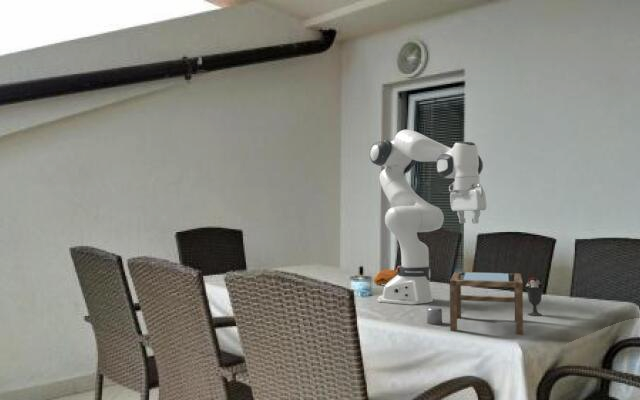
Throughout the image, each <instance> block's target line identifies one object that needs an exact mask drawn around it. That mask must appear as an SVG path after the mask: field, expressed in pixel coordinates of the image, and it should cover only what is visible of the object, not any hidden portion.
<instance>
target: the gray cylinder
mask: <svg viewBox="0 0 640 400" xmlns="http://www.w3.org/2000/svg"><path fill="white" fill-rule="evenodd" d="M426 324H428V325H432V326H433V325H434V326H435V325H436V326H438V325H439V326H440V325H443V308H442V307H438V306H428V307H427V308H426Z"/></svg>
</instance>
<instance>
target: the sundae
mask: <svg viewBox="0 0 640 400" xmlns="http://www.w3.org/2000/svg"><path fill="white" fill-rule="evenodd" d="M527 275H528V276H529V278H528V282H527V283H526V285H525V286H524V287H525V289H526V291H527V298H528V302H529V303H530V304H531V305H532V310H531V312H528V313H527V315H528V316H531V317H542V316H543V313H539V312H538V308H537V306H538V305H539V304H540V303H541V301H542V293H543V290H544V289H545V286H544V285H543V284H544V281H542V282H540V280H538V279H537V278H535V277H533V275H532V274H531V273H530V272H527Z"/></svg>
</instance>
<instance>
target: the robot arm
mask: <svg viewBox="0 0 640 400" xmlns="http://www.w3.org/2000/svg"><path fill="white" fill-rule="evenodd" d="M478 150H479V149H478V146H477V145H476V143H474V142H472V141H456V142H455V143H454V144H453V146H452V147H450V146H448V145H446V144H443V143H441V142H438V141H436V140H434V139H432V138H430V137H429V136H426V135H424V134H422V133H420V132H418V131H415V130H411V129H403V130H400V131H398V132H397V133H396V135H395V137H394V139H393V140H391V141H390V140H389V139H384V140H381V141H376V142H375V143H374V144H372V146H371V148H370V150H369V158H370V161H371V163H372V164H374V165H376V166H379V167H384V169H383V170H381V172H380V174H379V177H378V178H379V182H380V186H381V189H382V190H383V193H384V195H385V196H386V197H387V200H388V202H389V203H390V206H392V207H391V208H389V209H387V211H386V213H385V216H384V223H385V226H386V229H388V230H389V231H390V232H391V233H392V234H393V235H394V236H395V237H396V240H397V241H398V244H399V249H400V257H401V258H400V260H401V265H398V266H397V267H396V271H397V274H398V275H397V276H395V277H394V278H393V279H391V280H390V281H389V282H388V283H387V284H386V285H385V286H384V285H383V286H384V287H383V291H382V295H379V296H378V297H377V302H378V303H389V304H397V305H398V304H400V305H402V304H403V305H419V304H428V303H432V302H433V301H434V298H433V295H432V289H431V284H430V280H431V267H430V261H429V257H430V256H429V255H430V253H429V252H430V251H429V247H428V246H427V244H426V243H424V242H422V241H420V239H419V237H418V233H429V232H433V231H434V232H435V231H436V230H439V229H441V227H442V226H443V224H444V219H445V217H444V212H443V211H442V209H441V208H440V207H438V206H436V205H434V204H431V203H429V202H427V201H426V200H424V198H422V197H421V196H419V195H418V194H417V193H416V192H415V191H414V189H413V188H412V186H411V184H410V183H409V181H408V180H407V178H406V177H405V174H407V173H410V171H411V169H413V168H414V166H415V165H416V164H417V162H424V163H425V162H426V163H427V162H428V163H429V162H435V168H436V172H437V173H438V175H439V176H440V177H442V178H445V179H454V181H453V182H452V183H451V184H450V185H449V186H448V191H449V193H450V195H449V201H450V202H449V203H450V209H451V210H452V212H456V214H457V216H458V220H459V224H466V218H465V216H464V214H465V212H466V211H468V212H469V211H472V214H473V217H472V218H471V223H472V224H479V219H480V215H481V211H485V210H486V209H487V198H486V192H485V189H484V188H483V187H482V185H481V182H480V175H481V173H482V171H483V169H484V163H483V160H482V158H481V156H480V155H479V151H478Z"/></svg>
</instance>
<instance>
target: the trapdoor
mask: <svg viewBox="0 0 640 400" xmlns="http://www.w3.org/2000/svg"><path fill="white" fill-rule="evenodd" d="M509 277H510V276H509V273H504V272H478V271H477V272H476V271H473V272H467V271H466V272H464V275H463V279H462V280H478V281H510V279H509Z"/></svg>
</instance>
